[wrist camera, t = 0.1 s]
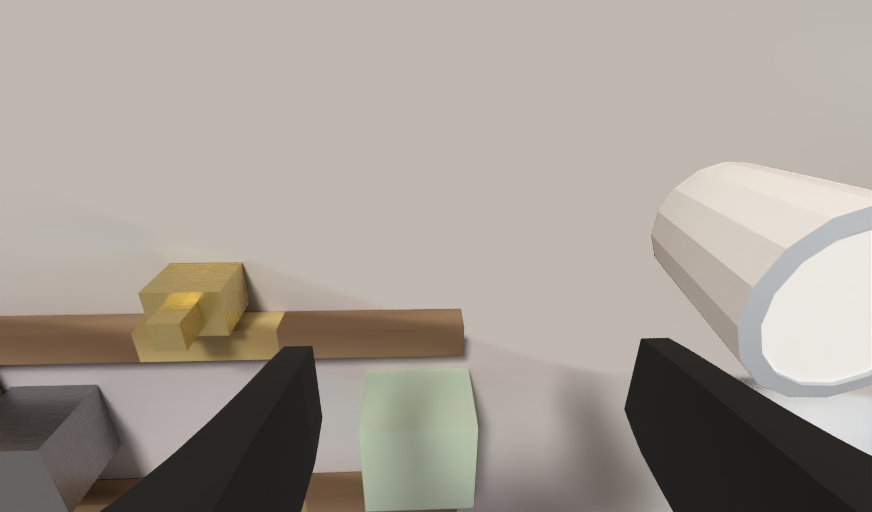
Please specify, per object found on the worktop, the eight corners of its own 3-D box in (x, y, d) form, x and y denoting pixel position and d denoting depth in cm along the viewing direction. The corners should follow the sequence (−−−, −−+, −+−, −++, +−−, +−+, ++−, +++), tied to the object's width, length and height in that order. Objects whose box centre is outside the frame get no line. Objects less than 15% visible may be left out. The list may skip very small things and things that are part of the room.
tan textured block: (249, 302, 20) (214, 359, 17) (181, 303, 20) (130, 360, 17) (241, 262, 20) (202, 313, 16) (170, 263, 20) (114, 314, 16)
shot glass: (665, 317, 22) (767, 431, 16) (614, 200, 19) (712, 279, 13) (811, 248, 21) (986, 342, 14) (777, 112, 18) (976, 153, 12)
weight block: (122, 443, 24) (70, 515, 20) (42, 445, 24) (-24, 518, 20) (98, 383, 22) (37, 450, 19) (13, 385, 22) (-66, 453, 18)
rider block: (465, 439, 25) (473, 507, 21) (372, 442, 25) (365, 511, 21) (468, 366, 23) (478, 428, 19) (367, 368, 23) (358, 431, 19)
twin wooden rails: (454, 487, 26) (456, 511, 25) (30, 501, 25) (8, 527, 24) (460, 308, 21) (464, 327, 20) (-73, 317, 20) (-107, 337, 19)
